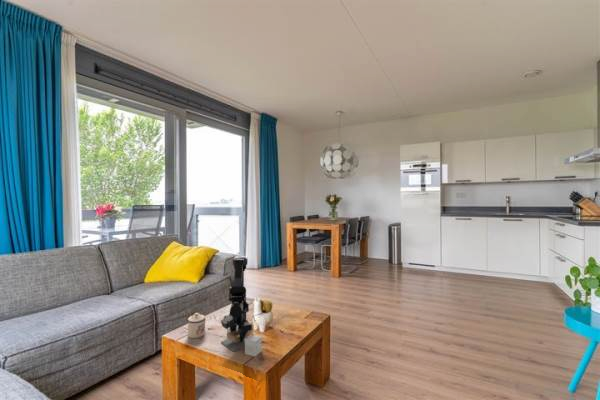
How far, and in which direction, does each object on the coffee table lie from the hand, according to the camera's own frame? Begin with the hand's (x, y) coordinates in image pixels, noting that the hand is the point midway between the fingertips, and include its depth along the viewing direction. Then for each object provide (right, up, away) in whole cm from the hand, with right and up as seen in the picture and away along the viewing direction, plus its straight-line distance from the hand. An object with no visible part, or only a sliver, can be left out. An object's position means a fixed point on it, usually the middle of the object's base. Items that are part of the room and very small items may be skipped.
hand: (237, 339), depth 150 cm
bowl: (-5, -2, +11) cm, 12 cm away
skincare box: (+10, -2, -9) cm, 13 cm away
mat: (0, -2, 0) cm, 2 cm away
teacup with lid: (-24, -2, +10) cm, 26 cm away
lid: (0, +1, 0) cm, 1 cm away
